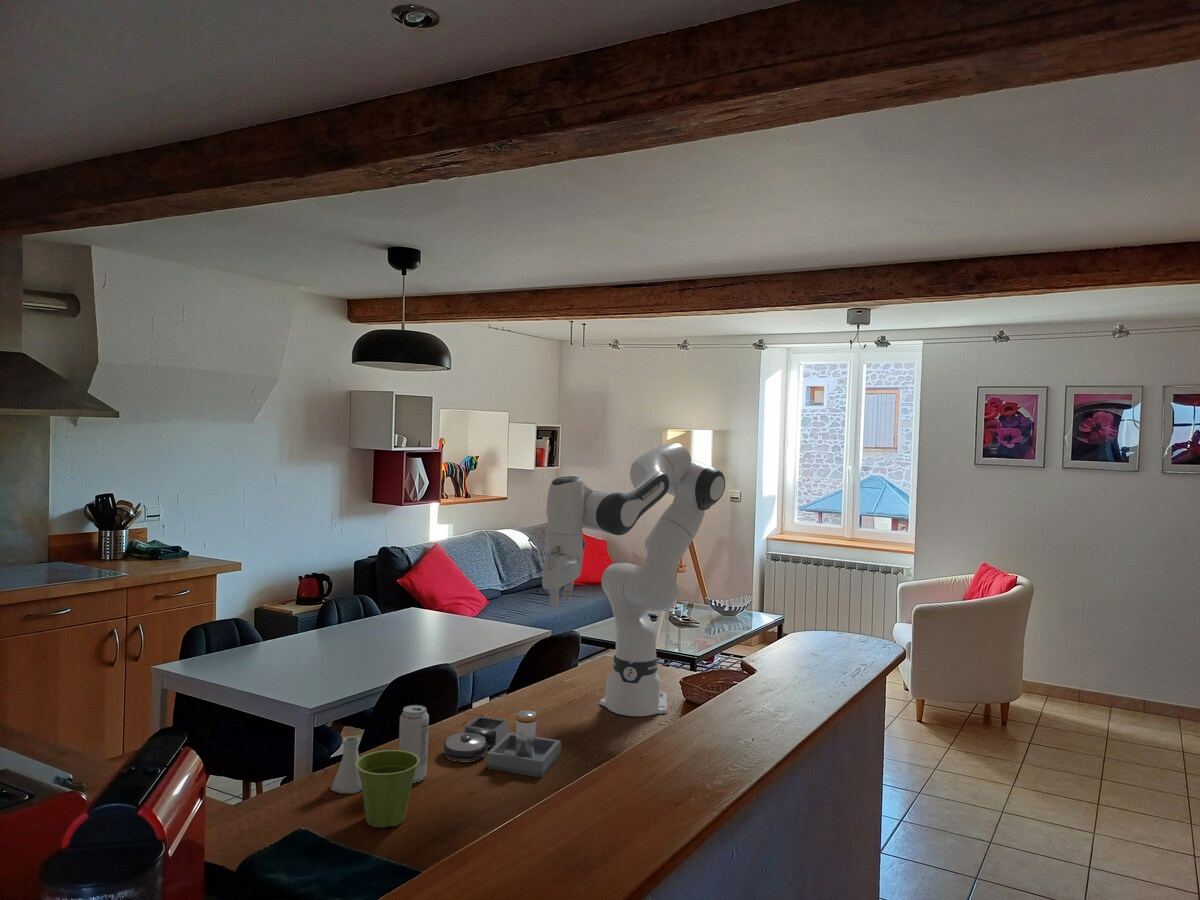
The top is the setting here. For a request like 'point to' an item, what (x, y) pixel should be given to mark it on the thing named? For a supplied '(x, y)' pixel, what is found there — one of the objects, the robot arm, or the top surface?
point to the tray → (507, 761)
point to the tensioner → (475, 739)
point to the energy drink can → (415, 736)
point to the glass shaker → (526, 734)
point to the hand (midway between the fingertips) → (561, 602)
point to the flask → (348, 769)
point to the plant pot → (386, 785)
